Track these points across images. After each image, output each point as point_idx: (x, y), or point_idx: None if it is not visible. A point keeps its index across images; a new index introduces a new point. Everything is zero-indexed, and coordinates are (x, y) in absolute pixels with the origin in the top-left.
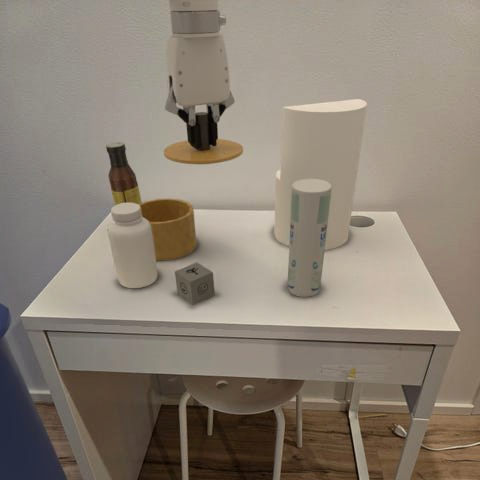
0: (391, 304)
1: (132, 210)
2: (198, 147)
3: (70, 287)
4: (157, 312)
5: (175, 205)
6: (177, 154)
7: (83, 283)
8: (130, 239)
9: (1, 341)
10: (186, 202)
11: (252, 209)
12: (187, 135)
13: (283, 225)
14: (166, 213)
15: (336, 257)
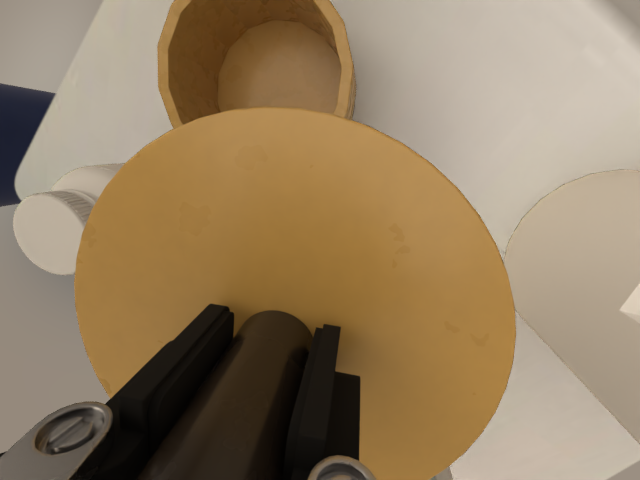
0: None
1: (64, 263)
2: None
3: (70, 147)
4: None
5: (326, 24)
6: (123, 337)
7: (92, 148)
8: None
9: (3, 174)
10: (346, 65)
11: (631, 17)
12: (150, 362)
13: (525, 277)
14: (306, 9)
15: (537, 366)
